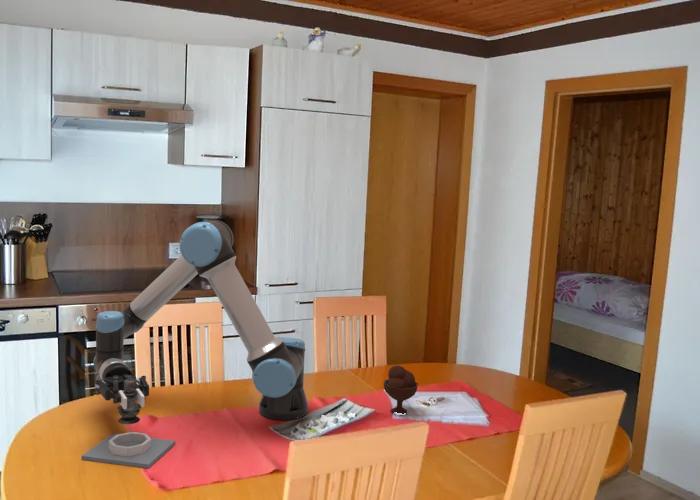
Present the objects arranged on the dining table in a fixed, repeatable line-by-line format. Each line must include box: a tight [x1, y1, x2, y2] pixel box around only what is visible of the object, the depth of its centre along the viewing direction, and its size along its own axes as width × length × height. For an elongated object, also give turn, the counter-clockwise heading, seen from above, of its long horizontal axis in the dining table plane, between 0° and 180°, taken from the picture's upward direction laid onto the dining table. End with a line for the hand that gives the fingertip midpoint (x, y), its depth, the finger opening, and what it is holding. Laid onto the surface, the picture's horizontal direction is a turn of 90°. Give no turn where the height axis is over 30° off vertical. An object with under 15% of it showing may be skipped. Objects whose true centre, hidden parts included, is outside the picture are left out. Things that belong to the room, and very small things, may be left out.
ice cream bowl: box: [383, 364, 419, 415], centre depth 207 cm, size 11×11×15 cm
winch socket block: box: [81, 431, 176, 469], centre depth 170 cm, size 18×15×3 cm
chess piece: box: [117, 376, 142, 425], centre depth 169 cm, size 6×6×12 cm
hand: (134, 402), depth 164 cm, fingers closed on chess piece, 4 cm apart
